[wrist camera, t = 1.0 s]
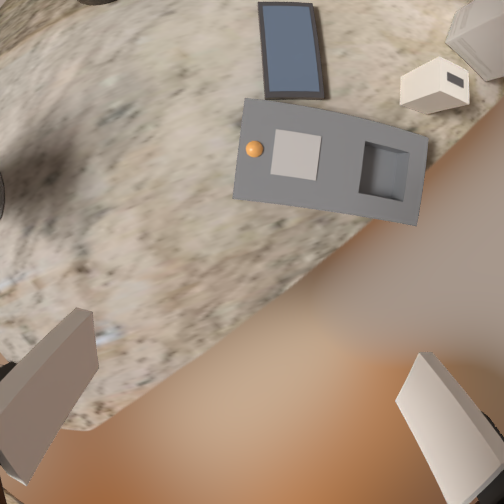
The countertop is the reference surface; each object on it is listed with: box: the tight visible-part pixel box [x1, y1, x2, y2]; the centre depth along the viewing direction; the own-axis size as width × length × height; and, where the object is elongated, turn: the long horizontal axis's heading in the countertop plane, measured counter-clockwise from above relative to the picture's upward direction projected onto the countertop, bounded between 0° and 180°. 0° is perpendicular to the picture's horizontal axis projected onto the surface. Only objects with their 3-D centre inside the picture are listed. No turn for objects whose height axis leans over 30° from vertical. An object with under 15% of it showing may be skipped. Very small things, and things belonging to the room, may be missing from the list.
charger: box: [400, 56, 469, 114], centre depth 25 cm, size 4×4×9 cm
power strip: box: [233, 98, 428, 226], centre depth 30 cm, size 10×20×4 cm, turn 83°
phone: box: [258, 2, 324, 100], centre depth 27 cm, size 13×6×1 cm, turn 3°
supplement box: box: [445, 0, 504, 81], centre depth 19 cm, size 9×9×15 cm
